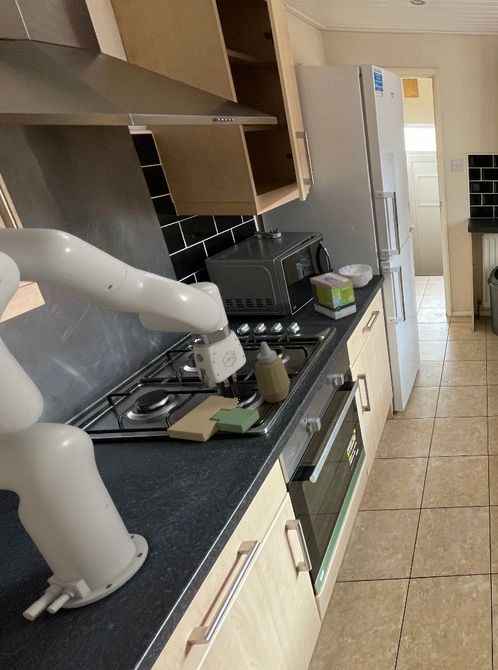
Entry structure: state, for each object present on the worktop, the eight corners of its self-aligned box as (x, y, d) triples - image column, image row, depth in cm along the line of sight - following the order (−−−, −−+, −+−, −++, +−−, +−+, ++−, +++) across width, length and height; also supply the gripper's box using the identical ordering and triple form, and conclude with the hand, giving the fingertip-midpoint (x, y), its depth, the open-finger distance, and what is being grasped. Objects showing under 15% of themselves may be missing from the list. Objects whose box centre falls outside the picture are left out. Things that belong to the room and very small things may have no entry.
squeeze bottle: (279, 407, 116) (265, 352, 109) (254, 403, 117) (238, 348, 110) (298, 390, 123) (286, 337, 116) (274, 386, 125) (261, 334, 118)
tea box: (357, 311, 172) (352, 278, 167) (335, 320, 165) (329, 286, 159) (336, 302, 181) (330, 271, 175) (314, 310, 173) (308, 277, 167)
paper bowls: (371, 289, 195) (369, 273, 192) (337, 291, 192) (334, 275, 189) (375, 277, 208) (373, 263, 205) (343, 279, 206) (341, 264, 203)
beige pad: (205, 441, 104) (202, 433, 103) (169, 437, 105) (166, 429, 104) (245, 405, 116) (243, 398, 115) (214, 402, 118) (211, 395, 117)
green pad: (243, 433, 106) (241, 425, 105) (210, 429, 108) (207, 421, 107) (259, 417, 112) (257, 410, 111) (227, 414, 113) (225, 406, 112)
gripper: (199, 350, 92) (221, 417, 99) (248, 320, 105) (264, 380, 113) (169, 348, 93) (193, 414, 100) (221, 318, 106) (239, 378, 114)
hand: (231, 396), depth 106 cm, fingers closed
